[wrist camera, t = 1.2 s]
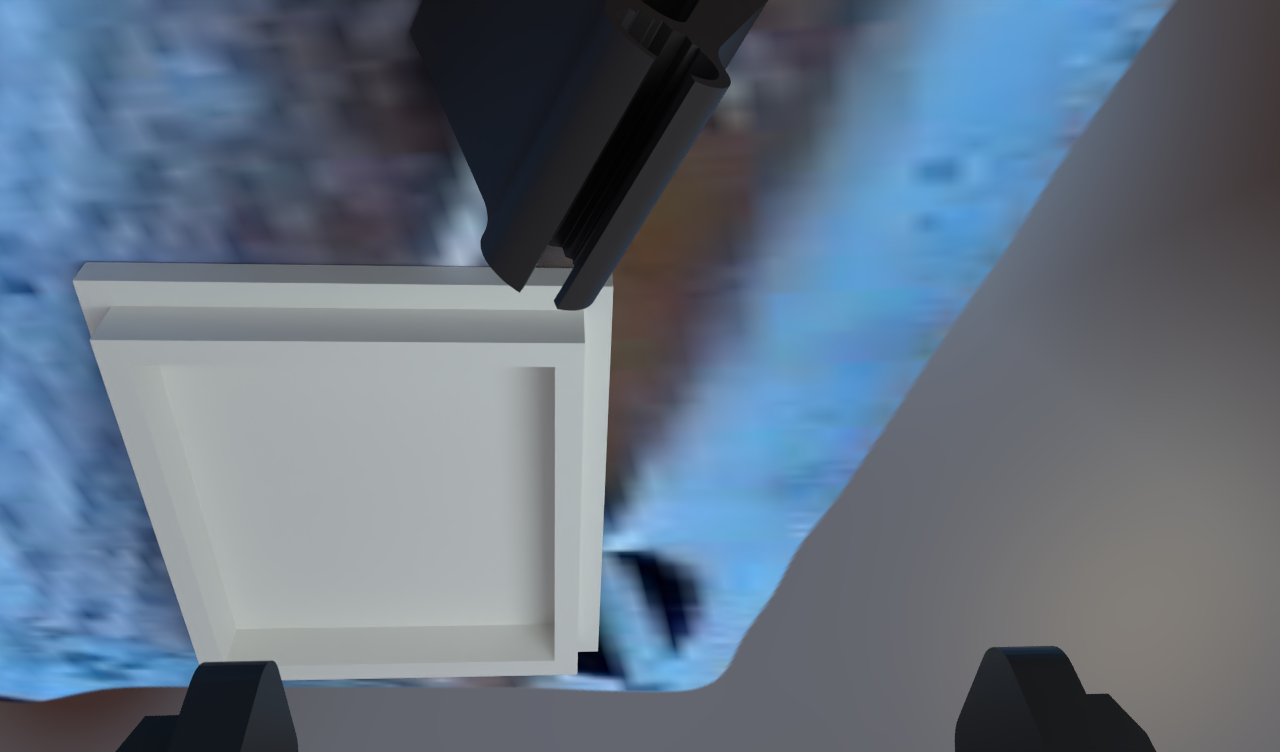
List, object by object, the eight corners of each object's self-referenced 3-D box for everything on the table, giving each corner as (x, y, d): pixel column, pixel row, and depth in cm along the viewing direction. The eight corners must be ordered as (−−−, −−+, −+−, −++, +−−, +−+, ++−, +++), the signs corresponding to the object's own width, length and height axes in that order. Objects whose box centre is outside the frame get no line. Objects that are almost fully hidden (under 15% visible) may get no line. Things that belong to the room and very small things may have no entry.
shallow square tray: (206, 636, 46) (186, 696, 44) (85, 261, 34) (47, 313, 32) (596, 630, 48) (599, 687, 45) (611, 268, 36) (615, 318, 33)
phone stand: (410, 26, 30) (341, 216, 21) (495, -169, 27) (460, -50, 18) (665, 157, 33) (707, 375, 24) (767, -5, 30) (861, 171, 21)
